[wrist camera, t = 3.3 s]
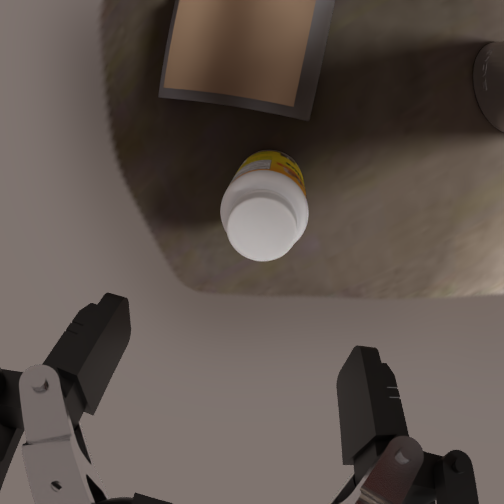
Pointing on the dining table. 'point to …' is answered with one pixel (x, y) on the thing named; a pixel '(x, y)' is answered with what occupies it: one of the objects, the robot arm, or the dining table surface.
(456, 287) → the dining table surface
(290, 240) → the supplement bottle
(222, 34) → the pedestal
